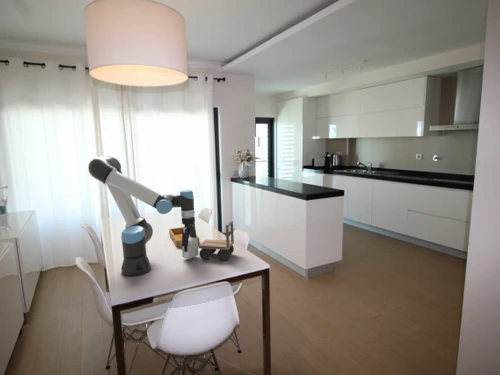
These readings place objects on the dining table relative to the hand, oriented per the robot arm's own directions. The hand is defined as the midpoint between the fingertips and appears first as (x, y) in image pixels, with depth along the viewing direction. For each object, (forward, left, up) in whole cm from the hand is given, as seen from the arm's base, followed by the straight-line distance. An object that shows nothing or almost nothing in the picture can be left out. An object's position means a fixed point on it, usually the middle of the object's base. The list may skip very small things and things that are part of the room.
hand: (190, 253), depth 183 cm
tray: (+34, +19, -4) cm, 39 cm away
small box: (0, 0, -2) cm, 2 cm away
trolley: (+5, -15, -3) cm, 16 cm away
